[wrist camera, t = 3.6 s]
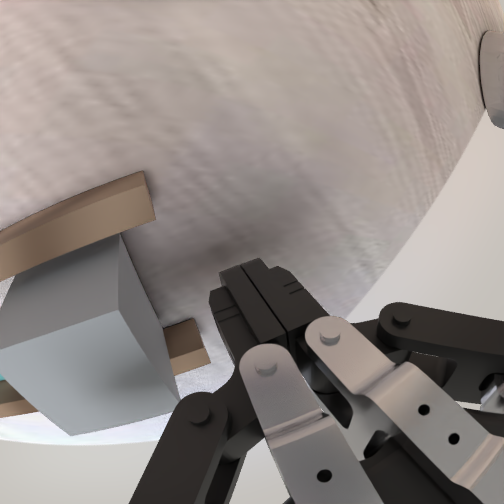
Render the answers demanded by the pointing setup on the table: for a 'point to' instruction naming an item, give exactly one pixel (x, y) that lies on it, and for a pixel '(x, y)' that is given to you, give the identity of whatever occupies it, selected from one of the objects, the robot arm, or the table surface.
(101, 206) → the wooden u-shaped frame
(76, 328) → the block
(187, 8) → the table surface
